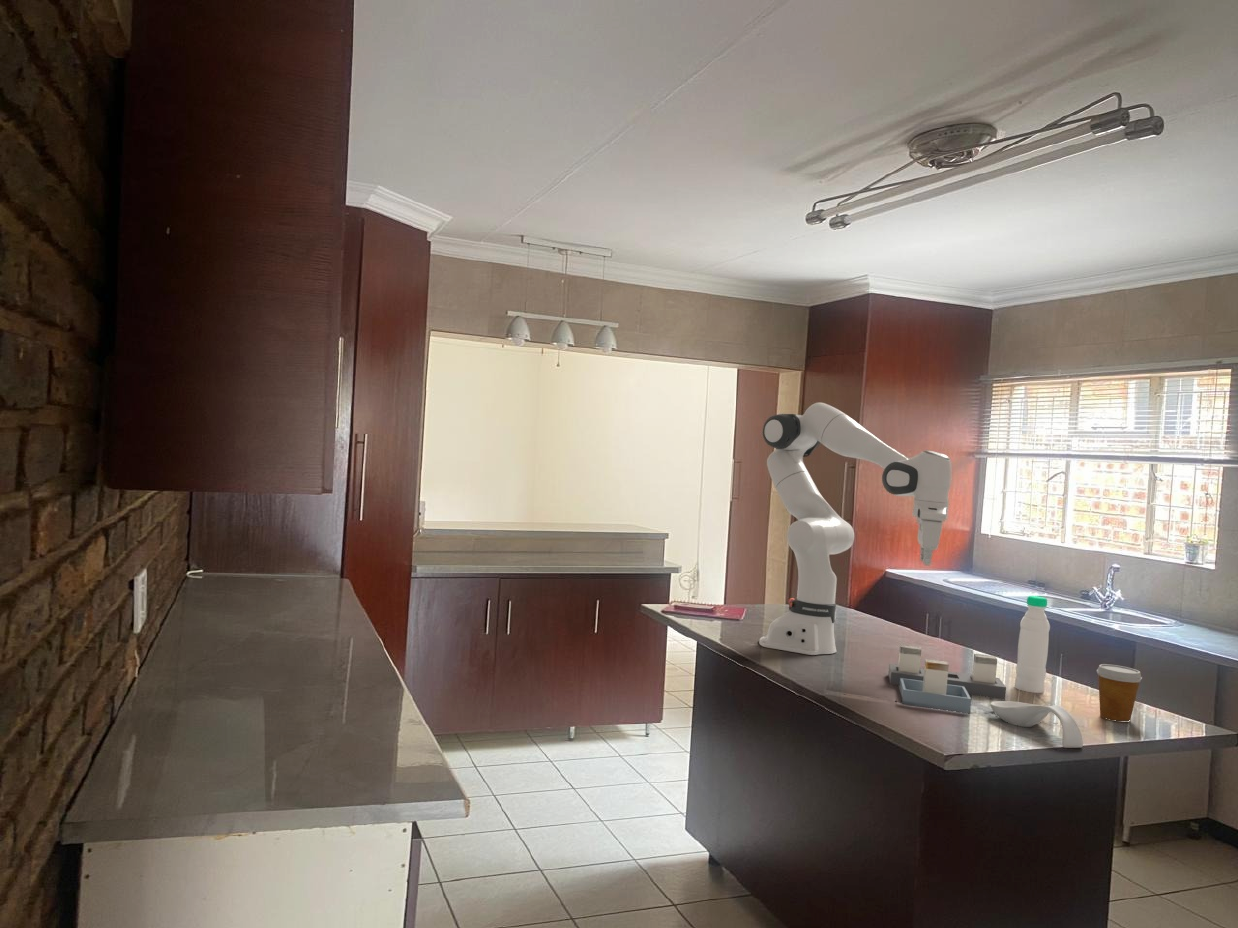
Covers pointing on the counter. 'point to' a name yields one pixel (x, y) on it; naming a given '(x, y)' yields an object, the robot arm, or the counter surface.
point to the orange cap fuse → (935, 676)
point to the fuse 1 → (909, 658)
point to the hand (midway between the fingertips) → (925, 563)
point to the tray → (934, 697)
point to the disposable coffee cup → (1117, 691)
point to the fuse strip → (954, 682)
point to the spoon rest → (1039, 718)
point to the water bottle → (1033, 647)
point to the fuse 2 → (984, 668)
